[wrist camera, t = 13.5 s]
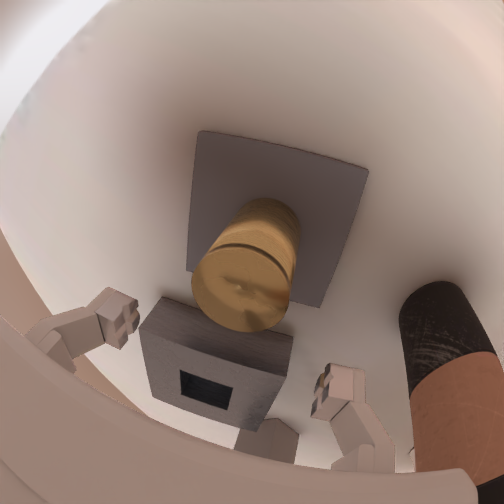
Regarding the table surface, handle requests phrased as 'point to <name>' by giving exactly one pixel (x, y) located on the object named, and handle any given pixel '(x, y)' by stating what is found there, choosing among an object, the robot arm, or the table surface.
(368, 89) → the table surface
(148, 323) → the housing
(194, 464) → the robot arm
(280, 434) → the grey square bottle
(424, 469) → the travel mug
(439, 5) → the table surface
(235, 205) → the mat
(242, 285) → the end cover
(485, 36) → the table surface
